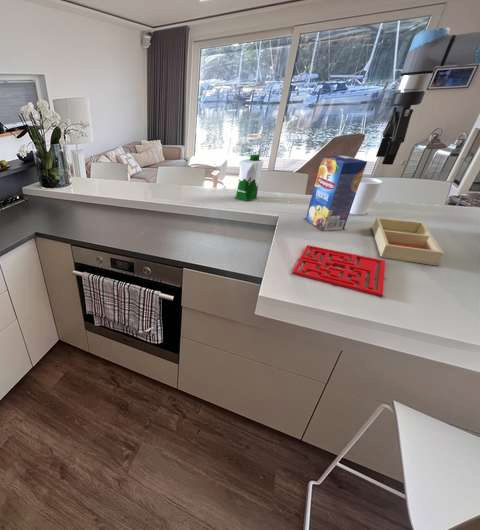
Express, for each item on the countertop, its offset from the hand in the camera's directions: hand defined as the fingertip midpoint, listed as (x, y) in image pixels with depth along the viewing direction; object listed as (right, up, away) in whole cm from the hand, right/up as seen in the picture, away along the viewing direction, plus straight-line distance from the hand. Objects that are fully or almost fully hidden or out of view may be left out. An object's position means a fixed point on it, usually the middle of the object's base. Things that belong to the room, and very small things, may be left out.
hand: (383, 160), depth 102 cm
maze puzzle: (-30, -38, -18) cm, 52 cm away
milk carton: (-31, -4, +41) cm, 52 cm away
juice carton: (-15, -22, +9) cm, 28 cm away
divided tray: (-3, -31, -9) cm, 32 cm away
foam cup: (+3, -16, +16) cm, 23 cm away
